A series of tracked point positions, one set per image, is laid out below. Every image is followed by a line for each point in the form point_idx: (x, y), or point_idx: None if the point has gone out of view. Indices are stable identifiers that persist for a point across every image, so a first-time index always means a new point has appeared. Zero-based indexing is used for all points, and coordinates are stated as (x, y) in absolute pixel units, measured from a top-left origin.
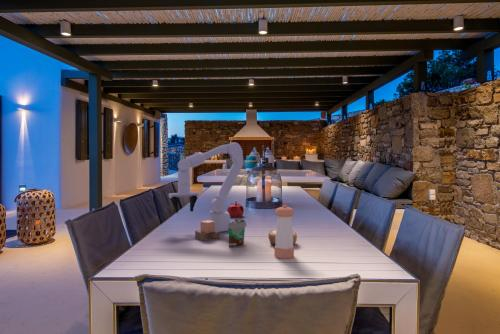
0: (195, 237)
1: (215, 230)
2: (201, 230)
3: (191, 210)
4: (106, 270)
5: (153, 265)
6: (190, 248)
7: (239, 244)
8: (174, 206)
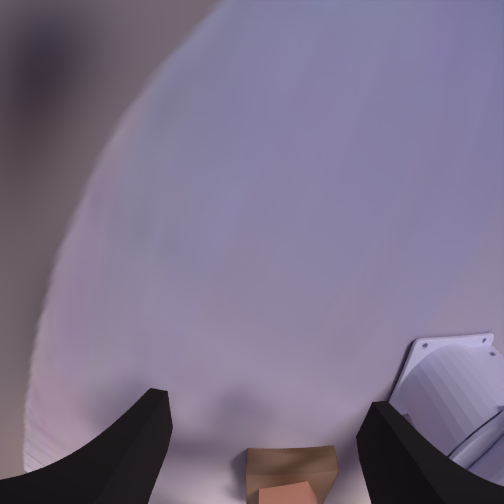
0: (247, 451)
1: (329, 490)
2: (260, 495)
3: (360, 442)
4: (27, 466)
5: None
6: (175, 500)
7: None
8: (112, 443)
